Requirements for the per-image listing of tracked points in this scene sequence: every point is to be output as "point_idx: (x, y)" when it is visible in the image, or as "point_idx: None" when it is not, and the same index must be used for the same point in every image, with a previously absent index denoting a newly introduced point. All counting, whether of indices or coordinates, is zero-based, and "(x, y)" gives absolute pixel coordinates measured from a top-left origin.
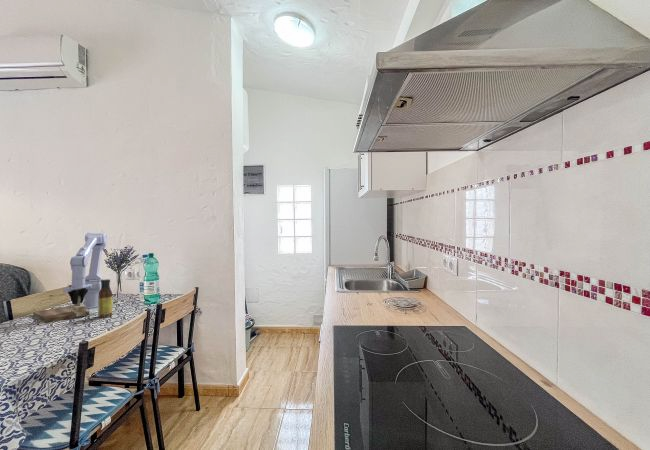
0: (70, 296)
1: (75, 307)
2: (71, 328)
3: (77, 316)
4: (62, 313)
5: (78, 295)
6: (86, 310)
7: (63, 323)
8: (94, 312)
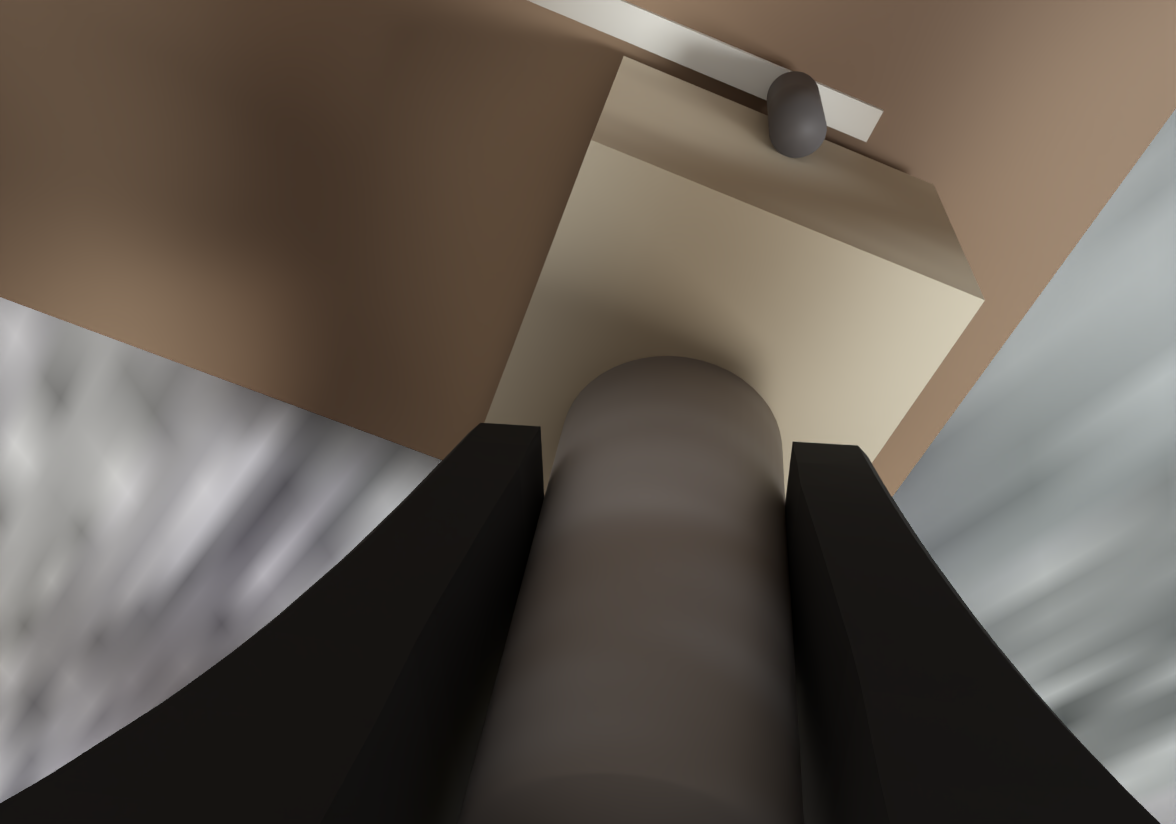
0: (150, 747)
1: None
2: None
3: None
4: (288, 35)
5: (867, 790)
6: (906, 455)
7: (69, 536)
8: (1137, 438)
